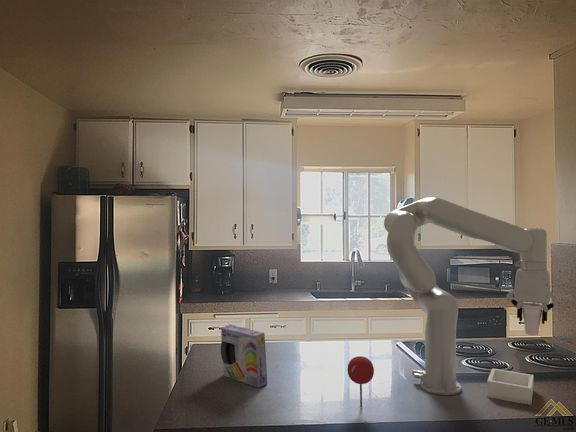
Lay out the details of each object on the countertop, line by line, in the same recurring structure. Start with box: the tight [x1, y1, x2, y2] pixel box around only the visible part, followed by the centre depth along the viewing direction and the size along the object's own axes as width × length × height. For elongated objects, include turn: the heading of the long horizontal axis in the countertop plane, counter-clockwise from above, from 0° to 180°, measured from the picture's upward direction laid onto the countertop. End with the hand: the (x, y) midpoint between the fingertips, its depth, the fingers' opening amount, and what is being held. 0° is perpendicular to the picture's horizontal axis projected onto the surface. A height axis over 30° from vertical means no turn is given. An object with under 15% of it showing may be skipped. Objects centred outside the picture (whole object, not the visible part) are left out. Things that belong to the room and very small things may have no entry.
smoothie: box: [521, 301, 543, 336], centre depth 147 cm, size 6×6×14 cm
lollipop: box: [347, 355, 375, 408], centre depth 133 cm, size 8×8×15 cm
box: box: [486, 368, 535, 406], centre depth 142 cm, size 12×12×5 cm
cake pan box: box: [220, 324, 268, 388], centre depth 155 cm, size 19×5×18 cm, turn 47°
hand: (531, 321), depth 147 cm, fingers closed on smoothie, 5 cm apart
